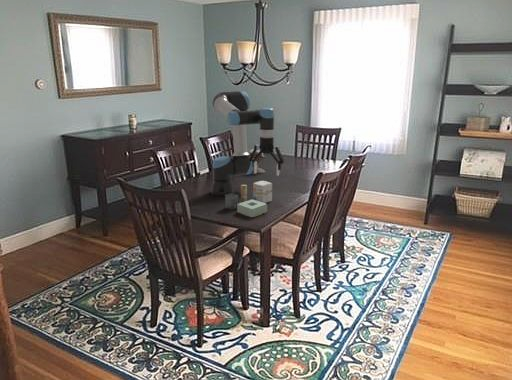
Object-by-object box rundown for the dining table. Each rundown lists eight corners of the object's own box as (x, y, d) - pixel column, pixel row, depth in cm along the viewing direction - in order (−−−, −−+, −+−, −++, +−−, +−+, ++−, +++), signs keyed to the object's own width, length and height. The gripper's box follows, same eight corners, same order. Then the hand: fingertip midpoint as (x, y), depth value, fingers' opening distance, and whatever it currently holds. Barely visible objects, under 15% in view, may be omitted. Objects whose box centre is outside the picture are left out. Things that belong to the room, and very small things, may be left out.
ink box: (252, 200, 251) (252, 182, 248) (262, 197, 257) (262, 180, 253) (262, 204, 245) (262, 185, 242) (272, 200, 251) (272, 182, 247)
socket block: (237, 212, 231) (237, 204, 230) (252, 207, 239) (252, 199, 238) (252, 217, 223) (252, 209, 222) (267, 212, 231) (267, 203, 230)
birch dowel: (239, 204, 244) (239, 185, 241) (244, 203, 247) (243, 184, 243) (244, 206, 242) (243, 186, 238) (248, 204, 244) (248, 185, 241)
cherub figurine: (243, 168, 331) (243, 146, 326) (265, 168, 330) (265, 146, 325) (242, 173, 314) (242, 151, 309) (265, 173, 313) (265, 151, 308)
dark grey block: (225, 207, 239) (224, 195, 236) (232, 205, 242) (231, 192, 240) (231, 210, 235) (231, 197, 233) (238, 207, 239) (238, 194, 236)
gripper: (243, 136, 224) (243, 173, 230) (286, 139, 215) (285, 177, 221) (248, 134, 231) (248, 170, 237) (290, 137, 222) (289, 174, 228)
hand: (266, 174), depth 229 cm, fingers open, 13 cm apart
